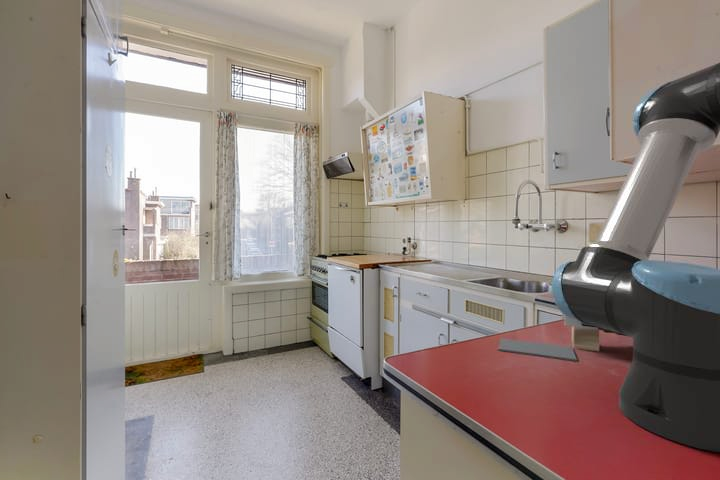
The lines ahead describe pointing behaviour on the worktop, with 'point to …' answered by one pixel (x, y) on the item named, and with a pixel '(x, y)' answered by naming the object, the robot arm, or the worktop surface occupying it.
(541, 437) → the worktop surface
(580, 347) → the block
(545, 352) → the mat
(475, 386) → the worktop surface
